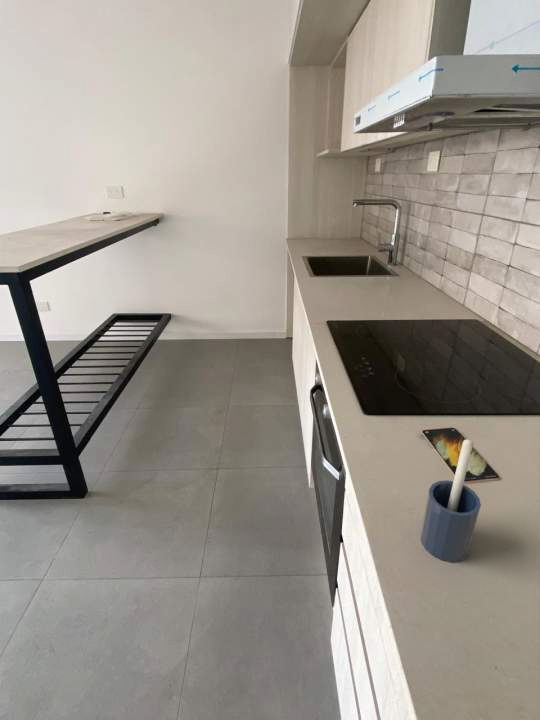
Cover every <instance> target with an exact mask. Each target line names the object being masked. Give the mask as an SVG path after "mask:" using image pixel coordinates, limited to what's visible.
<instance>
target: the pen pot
mask: <svg viewBox="0 0 540 720" xmlns="http://www.w3.org/2000/svg"><path fill="white" fill-rule="evenodd" d="M453 481H454V480H447V479H446V480H438V481H435V482H434V483H432V484H431V485H430V487H429V489H428V492H427V498H426V503H425V507H424V514H423V520H422V524H421V530H420V542H421V545H422V546H423V548H424V549H425V551H426V552H428V553H429V554H430V555H431V556H432V557H434V558H435V559H437V560H440V561H443V562H445V563H458V562H461V561H464V560H465V559H466V558H467V556H468V554H469V552H470V548H471V545H472V541H473V537H474V533H475V529H476V525H477V522H478V519H479V515H480V511H481V507H482V504H481V500H480V499H481V498H480V497H479V496H478V494H477V493H476V492H475V491H474V489H473V490H472V488H470V487H469V486H467V485H465V484H463V487H462V491H461V495H460V499H459V503H458V507H457V511H456V512H454V511H451V510H448V509H447V507H448V502H449V498H450V494H451V490H452V486H453Z"/></svg>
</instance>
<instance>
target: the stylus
mask: <svg viewBox="0 0 540 720" xmlns="http://www.w3.org/2000/svg"><path fill="white" fill-rule="evenodd" d="M465 439H466V440H464V441H463V444H462V448H461V452H460V456H459V460H458V465H457V469H456V473H455V477H454V478H453V480H452V481H453V486H452V490H451V494H450V498H449V502H448V507H447V509H448V510H451V511H454V512H456V511H457V507H458V503H459V499H460V495H461V491H462V487H463V485H464V484H465V483H464V479H465V475H466V471H467V467H468V463H469V459H470V455H471V450H472V447H473V446H474V444H473V441H472V440H470V439H467V438H465Z"/></svg>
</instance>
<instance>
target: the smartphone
mask: <svg viewBox="0 0 540 720" xmlns="http://www.w3.org/2000/svg"><path fill="white" fill-rule="evenodd" d="M421 434H422V435H423V437H424V438H425V439H426V441H427V442H428V444H429V445H430V446H431V447H432V449H433V450H434V451H435V453H437V455H438V456H439V458H440V459H441V460H442V462H443V463H444V464H445V466H446V467H447V468H448V470H449V471H450V473H451V474H452V475H453V476H454V477H455V473H456V469H457V465H458V460H459V456H460V452H461V448H462V444H463V441H464V440H466V439H467V438H465V437H464V436H463V435H462V433H461V432H460V431H459V430H458V429H457V428H455V427H446V428H445V427H444V428H443V427H442V428H432V429H431V428H430V429H423V430H422V431H421ZM499 478H500V475H499V474H498V473H497V472H496V471H495V470H494V469H493V468H492V466H491V465H490V464H489V463H488V462H487V460H485V459H484V458H483V457H482V456H481V454H480V453H479V452H478V451H477V450H476V449H475V448H474V447H473V446H472V450H471V455H470V459H469V463H468V467H467V471H466V475H465V479H464V483H463V484H473V483H483V482H485V483H486V482H494V481H495V482H496V481H498V480H499Z"/></svg>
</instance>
